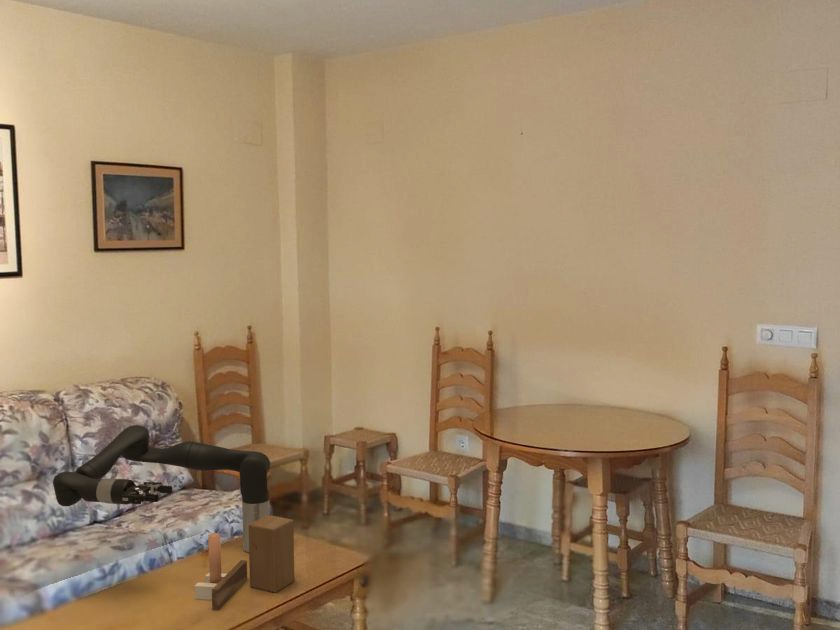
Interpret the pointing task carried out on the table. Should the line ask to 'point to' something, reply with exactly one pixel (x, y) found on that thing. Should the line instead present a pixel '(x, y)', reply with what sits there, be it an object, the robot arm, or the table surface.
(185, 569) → the table surface
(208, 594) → the notched block
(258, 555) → the wooden block
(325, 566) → the table surface
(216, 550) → the dowel
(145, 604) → the table surface
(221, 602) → the wall
